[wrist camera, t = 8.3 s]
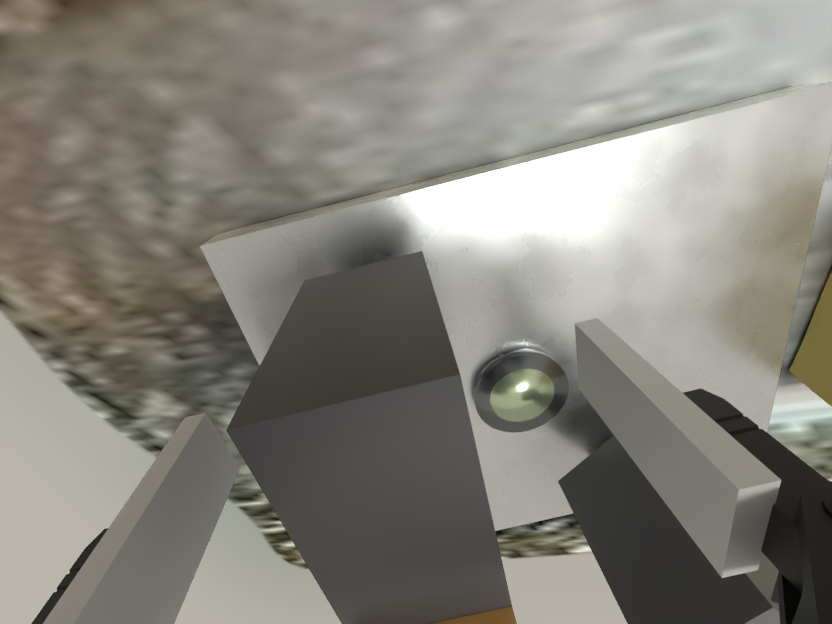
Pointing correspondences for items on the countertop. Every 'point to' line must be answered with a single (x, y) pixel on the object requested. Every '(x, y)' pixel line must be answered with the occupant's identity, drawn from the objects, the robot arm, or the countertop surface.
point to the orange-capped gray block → (657, 550)
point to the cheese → (817, 349)
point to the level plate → (580, 271)
